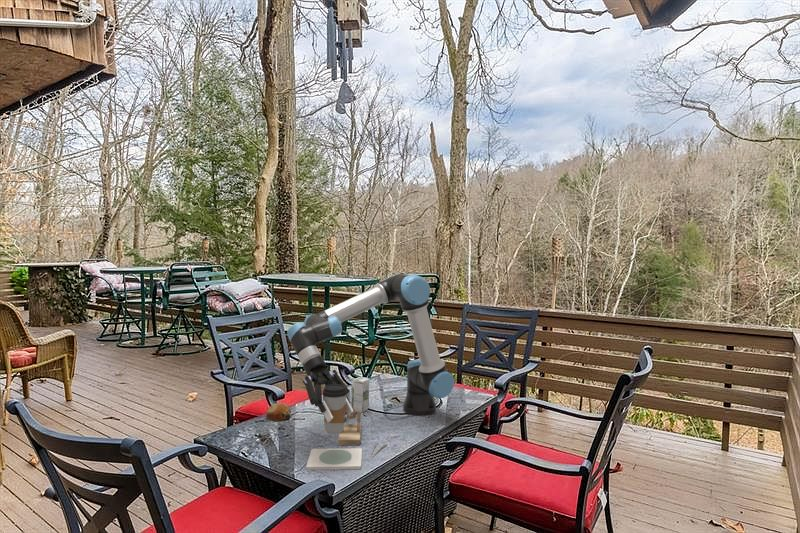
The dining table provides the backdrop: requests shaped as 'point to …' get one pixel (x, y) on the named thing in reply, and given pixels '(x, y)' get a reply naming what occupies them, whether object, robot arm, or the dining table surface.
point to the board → (335, 459)
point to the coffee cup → (335, 407)
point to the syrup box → (360, 394)
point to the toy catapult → (351, 430)
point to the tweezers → (378, 450)
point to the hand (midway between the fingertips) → (340, 416)
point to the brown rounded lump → (278, 412)
